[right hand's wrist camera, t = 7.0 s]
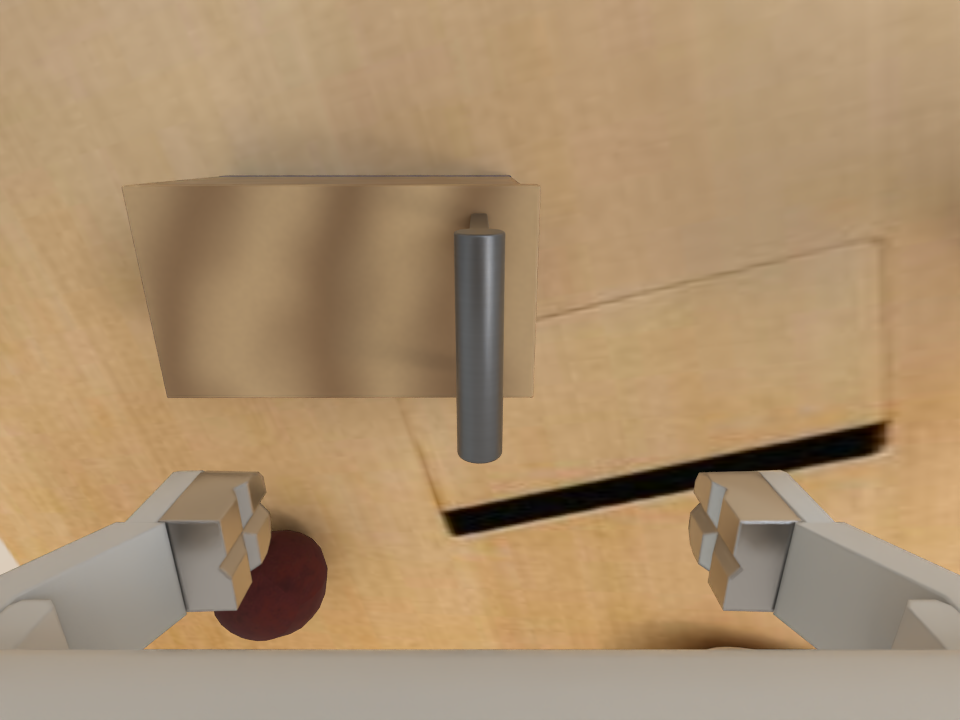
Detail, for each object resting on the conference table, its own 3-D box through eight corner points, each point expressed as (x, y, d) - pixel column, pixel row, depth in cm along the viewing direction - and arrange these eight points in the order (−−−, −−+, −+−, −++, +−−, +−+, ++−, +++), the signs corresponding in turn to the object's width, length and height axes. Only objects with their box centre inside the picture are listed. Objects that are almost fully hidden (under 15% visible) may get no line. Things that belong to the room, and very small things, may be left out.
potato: (219, 549, 42) (171, 623, 36) (285, 490, 40) (246, 556, 34) (293, 604, 44) (260, 684, 38) (359, 550, 42) (337, 624, 36)
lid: (538, 183, 24) (569, 200, 16) (531, 388, 28) (553, 488, 19) (136, 184, 24) (-41, 200, 16) (178, 388, 28) (51, 489, 19)
